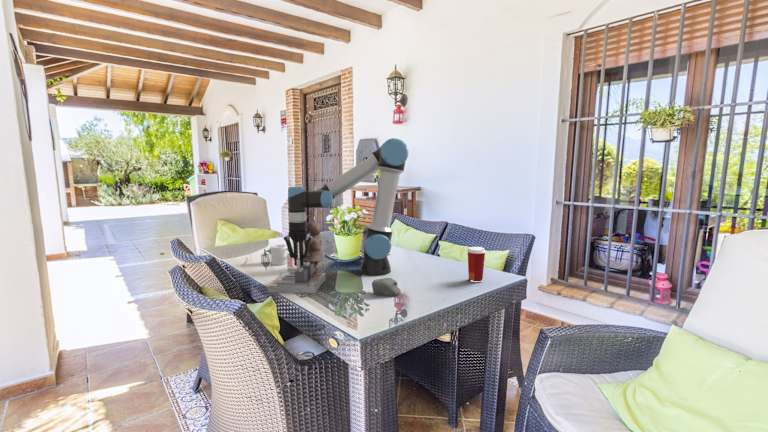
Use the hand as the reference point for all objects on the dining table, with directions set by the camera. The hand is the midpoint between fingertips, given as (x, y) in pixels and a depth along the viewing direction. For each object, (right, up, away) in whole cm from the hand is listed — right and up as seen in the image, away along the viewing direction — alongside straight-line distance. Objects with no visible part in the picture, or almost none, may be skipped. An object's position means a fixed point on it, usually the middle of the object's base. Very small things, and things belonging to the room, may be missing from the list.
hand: (299, 272), depth 173 cm
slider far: (+4, -1, 0) cm, 4 cm away
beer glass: (+80, -4, 0) cm, 80 cm away
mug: (-17, -1, +34) cm, 38 cm away
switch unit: (0, -5, -4) cm, 7 cm away
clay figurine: (+2, -2, +21) cm, 22 cm away
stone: (+40, -7, -16) cm, 43 cm away
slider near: (+3, -3, -10) cm, 11 cm away
